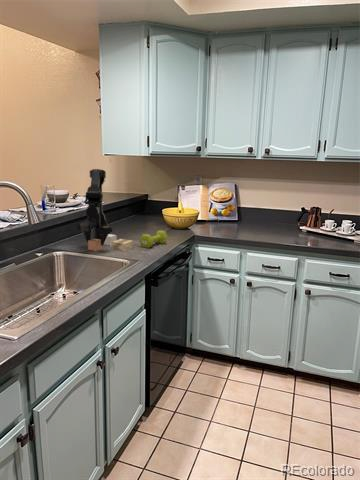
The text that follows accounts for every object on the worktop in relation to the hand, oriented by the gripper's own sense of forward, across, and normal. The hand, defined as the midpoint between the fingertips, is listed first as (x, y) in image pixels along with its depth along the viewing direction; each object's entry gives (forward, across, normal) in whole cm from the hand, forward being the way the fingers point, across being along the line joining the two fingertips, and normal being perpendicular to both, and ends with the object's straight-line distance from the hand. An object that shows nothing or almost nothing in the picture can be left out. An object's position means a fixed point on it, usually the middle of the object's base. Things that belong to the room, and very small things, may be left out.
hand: (95, 244), depth 199 cm
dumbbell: (+3, +20, +25) cm, 32 cm away
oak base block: (+3, +10, +10) cm, 14 cm away
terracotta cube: (+3, 0, 0) cm, 3 cm away
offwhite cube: (+3, -1, +13) cm, 13 cm away
